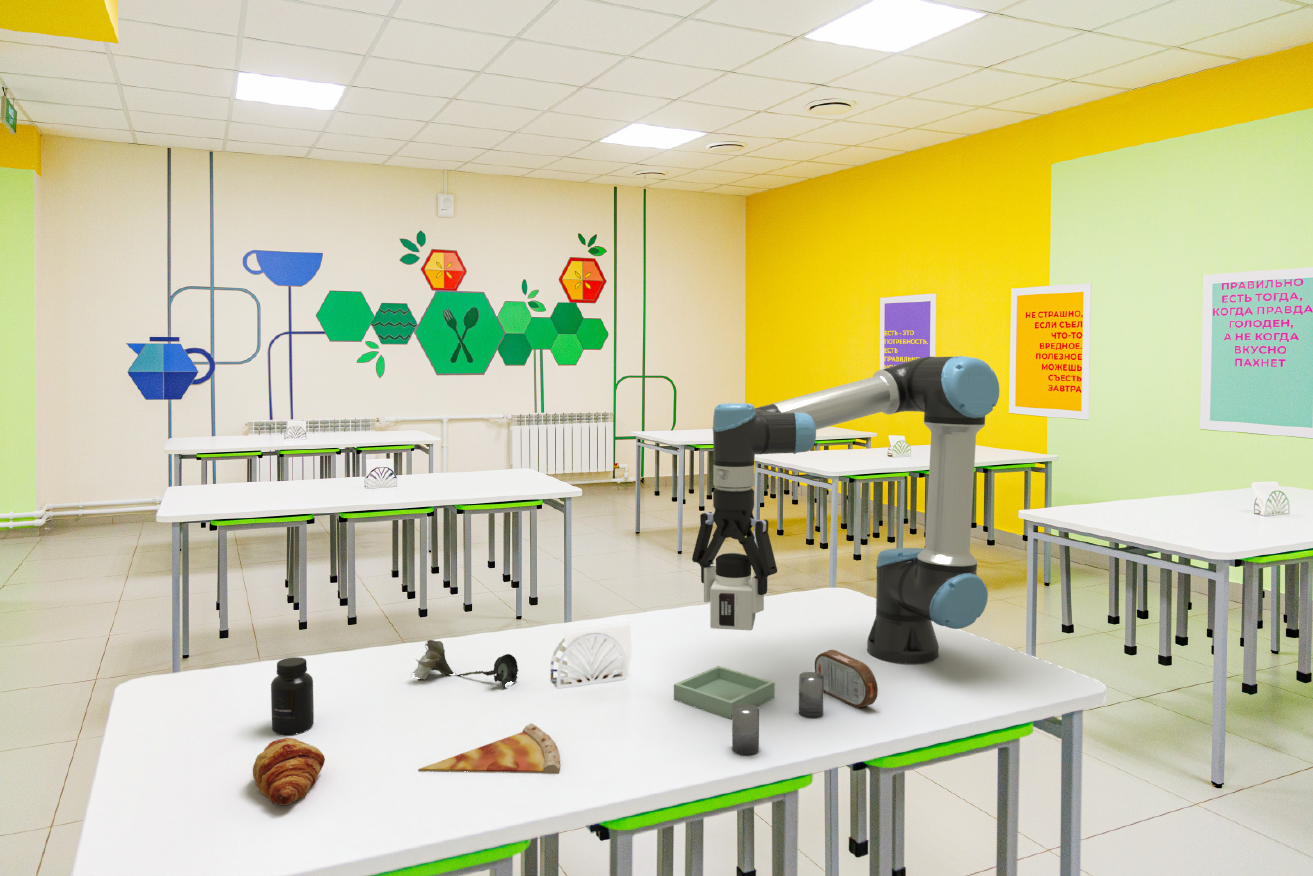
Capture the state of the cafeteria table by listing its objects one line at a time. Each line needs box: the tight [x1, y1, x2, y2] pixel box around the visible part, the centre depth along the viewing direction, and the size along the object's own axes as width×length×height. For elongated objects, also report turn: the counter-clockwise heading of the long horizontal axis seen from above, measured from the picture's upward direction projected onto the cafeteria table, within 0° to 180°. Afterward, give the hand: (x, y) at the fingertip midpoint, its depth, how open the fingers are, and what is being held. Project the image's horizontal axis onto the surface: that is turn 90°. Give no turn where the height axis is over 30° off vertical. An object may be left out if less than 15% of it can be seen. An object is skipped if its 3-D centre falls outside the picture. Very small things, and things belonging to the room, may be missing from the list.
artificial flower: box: [412, 639, 519, 689], centre depth 177 cm, size 9×22×10 cm, turn 66°
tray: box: [673, 665, 775, 720], centre depth 167 cm, size 14×14×3 cm
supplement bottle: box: [270, 656, 315, 736], centre depth 154 cm, size 7×7×12 cm
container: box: [709, 552, 756, 631], centre depth 163 cm, size 8×8×13 cm
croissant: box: [252, 737, 326, 806], centre depth 135 cm, size 21×10×8 cm, turn 23°
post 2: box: [798, 671, 825, 720], centre depth 160 cm, size 4×4×7 cm
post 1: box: [731, 704, 760, 757], centre depth 145 cm, size 4×4×7 cm
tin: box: [814, 649, 879, 709], centre depth 167 cm, size 15×3×8 cm, turn 31°
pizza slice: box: [417, 722, 561, 774], centre depth 146 cm, size 16×22×2 cm
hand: (733, 606), depth 164 cm, fingers closed on container, 10 cm apart
